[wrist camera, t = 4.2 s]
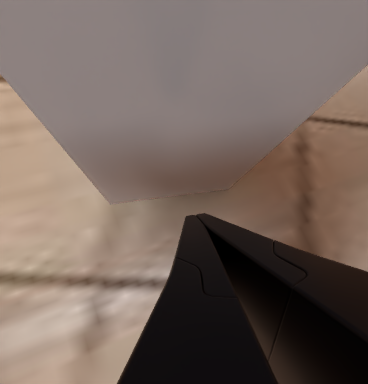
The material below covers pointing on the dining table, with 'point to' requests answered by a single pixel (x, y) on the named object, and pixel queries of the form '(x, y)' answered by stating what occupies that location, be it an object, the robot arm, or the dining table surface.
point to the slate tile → (177, 82)
